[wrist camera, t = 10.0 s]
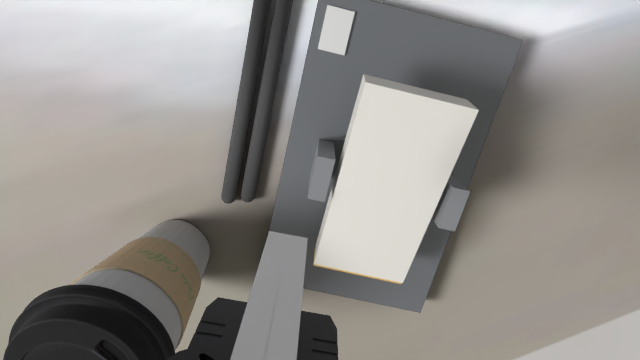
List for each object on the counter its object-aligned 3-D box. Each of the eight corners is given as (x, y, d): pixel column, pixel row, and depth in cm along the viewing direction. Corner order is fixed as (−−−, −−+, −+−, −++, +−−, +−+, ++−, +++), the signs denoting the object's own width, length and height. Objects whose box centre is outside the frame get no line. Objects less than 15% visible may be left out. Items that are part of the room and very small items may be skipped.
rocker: (363, 73, 24) (365, 82, 22) (466, 99, 25) (478, 110, 22) (314, 247, 31) (313, 266, 28) (397, 265, 31) (401, 285, 29)
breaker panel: (321, -8, 28) (320, -31, 21) (509, 41, 29) (570, 34, 22) (262, 267, 35) (246, 319, 28) (415, 299, 36) (437, 358, 29)
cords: (258, -18, 28) (255, -21, 27) (295, -9, 28) (294, -11, 27) (222, 198, 33) (218, 203, 32) (253, 205, 33) (251, 210, 32)
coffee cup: (243, 226, 34) (185, 346, 20) (208, 306, 37) (134, 463, 22) (143, 184, 33) (4, 279, 19) (114, 270, 36) (-27, 410, 21)
